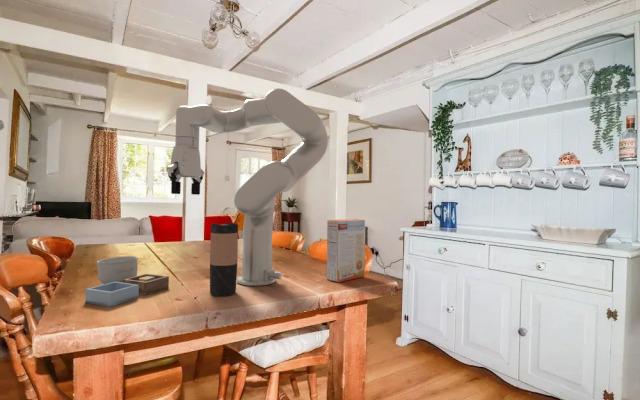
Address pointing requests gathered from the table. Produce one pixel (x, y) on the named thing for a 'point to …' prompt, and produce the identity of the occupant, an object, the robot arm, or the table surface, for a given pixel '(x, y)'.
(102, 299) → the slate box
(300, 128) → the robot arm
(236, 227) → the travel mug
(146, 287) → the walnut box
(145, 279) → the alphabet block
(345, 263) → the cracker box
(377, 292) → the table surface
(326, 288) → the table surface
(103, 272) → the grey piece
